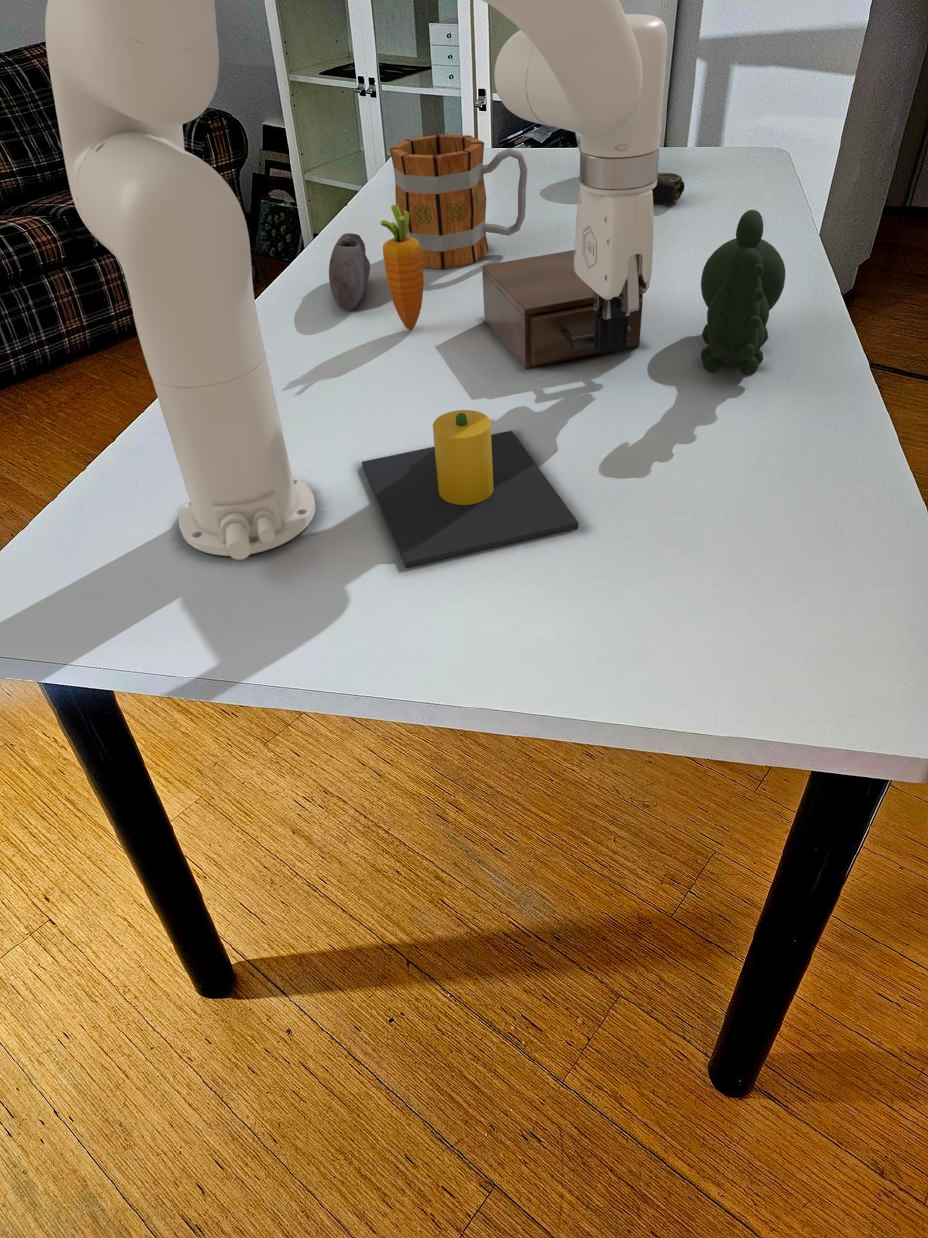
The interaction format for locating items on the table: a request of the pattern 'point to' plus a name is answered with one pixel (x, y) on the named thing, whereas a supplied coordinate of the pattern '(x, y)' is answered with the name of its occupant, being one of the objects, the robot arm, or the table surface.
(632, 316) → the drawer
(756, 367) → the toy figurine
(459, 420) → the pepper
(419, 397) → the table surface
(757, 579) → the table surface
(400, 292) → the carrot
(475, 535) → the mat
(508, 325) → the cabinet
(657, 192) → the tape measure
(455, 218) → the mug
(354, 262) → the perforated stone tool
